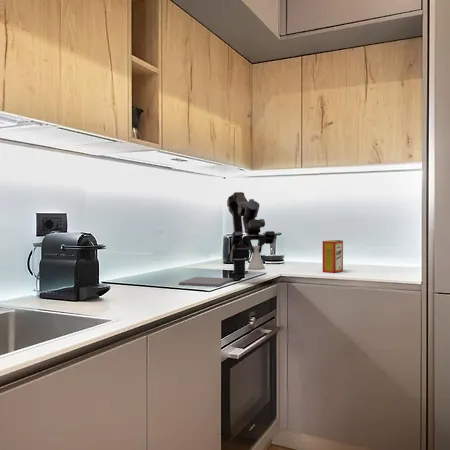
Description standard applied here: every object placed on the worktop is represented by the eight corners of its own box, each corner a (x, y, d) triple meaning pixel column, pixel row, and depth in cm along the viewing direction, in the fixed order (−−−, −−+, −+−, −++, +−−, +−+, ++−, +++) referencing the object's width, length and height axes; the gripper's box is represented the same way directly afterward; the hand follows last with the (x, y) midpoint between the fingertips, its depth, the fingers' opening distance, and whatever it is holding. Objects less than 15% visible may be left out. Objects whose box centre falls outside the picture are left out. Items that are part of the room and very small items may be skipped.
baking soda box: (334, 273, 230) (334, 240, 230) (322, 272, 234) (322, 240, 234) (342, 271, 238) (342, 239, 237) (331, 270, 242) (331, 239, 241)
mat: (196, 279, 214) (196, 276, 214) (233, 280, 208) (233, 278, 208) (178, 284, 197) (178, 282, 197) (218, 286, 191) (218, 284, 191)
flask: (268, 269, 197) (267, 246, 197) (253, 270, 194) (252, 246, 194) (259, 268, 204) (259, 245, 204) (244, 269, 201) (244, 246, 201)
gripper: (232, 213, 200) (238, 240, 190) (274, 212, 204) (282, 239, 193) (228, 230, 208) (234, 257, 198) (269, 229, 212) (276, 256, 202)
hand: (256, 252), depth 198 cm, fingers closed on flask, 3 cm apart
